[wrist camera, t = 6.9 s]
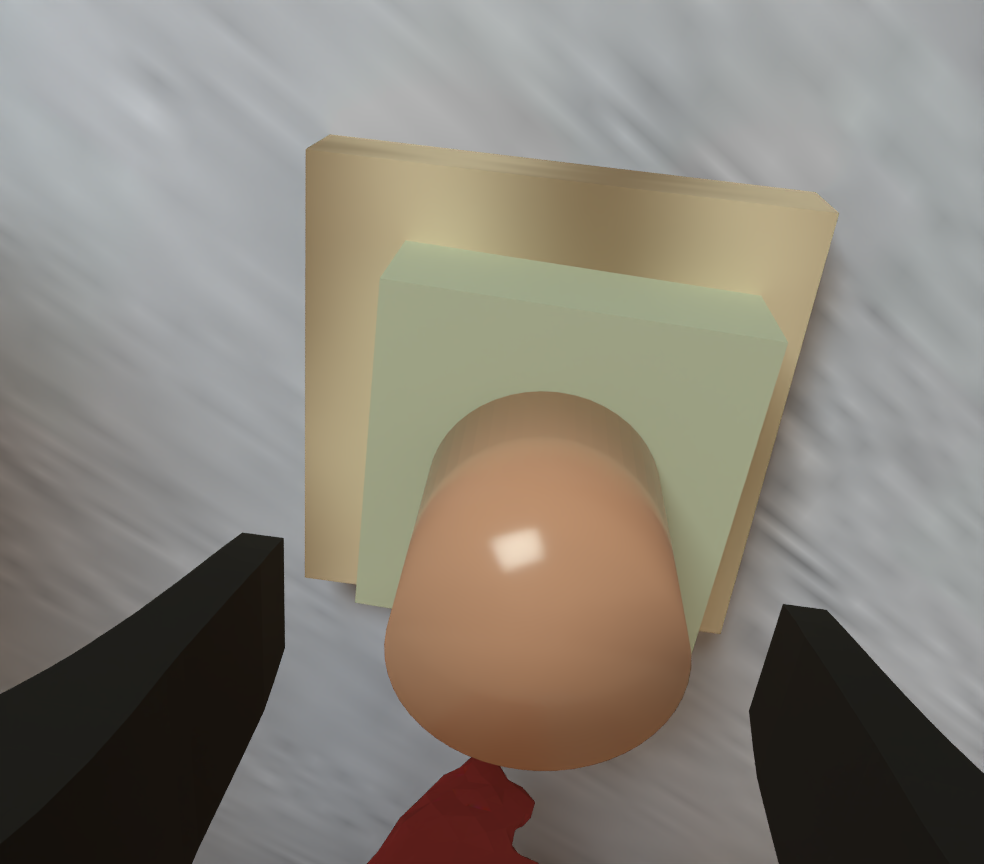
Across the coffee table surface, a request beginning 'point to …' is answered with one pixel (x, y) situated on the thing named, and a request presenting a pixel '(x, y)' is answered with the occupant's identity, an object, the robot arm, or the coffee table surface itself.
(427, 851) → the decorative bird sculpture
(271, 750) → the coffee table surface
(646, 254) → the maple slab
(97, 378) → the coffee table surface
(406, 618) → the peach domed cylinder
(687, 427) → the sage slab
